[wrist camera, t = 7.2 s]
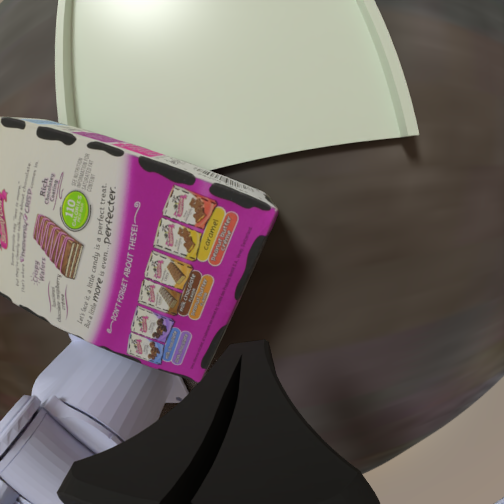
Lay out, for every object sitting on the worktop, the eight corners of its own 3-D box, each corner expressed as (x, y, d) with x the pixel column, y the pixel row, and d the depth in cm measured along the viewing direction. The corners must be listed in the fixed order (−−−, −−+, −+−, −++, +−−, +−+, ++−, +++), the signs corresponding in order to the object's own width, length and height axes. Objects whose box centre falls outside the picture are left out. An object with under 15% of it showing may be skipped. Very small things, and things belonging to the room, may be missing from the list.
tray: (87, 208, 18) (75, 212, 16) (69, -13, 12) (61, -19, 10) (408, 136, 15) (419, 134, 13) (312, -83, 9) (313, -92, 8)
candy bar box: (269, 192, 17) (43, 114, 13) (285, 209, 12) (-3, 111, 9) (205, 338, 20) (17, 259, 17) (200, 387, 15) (-20, 286, 12)
